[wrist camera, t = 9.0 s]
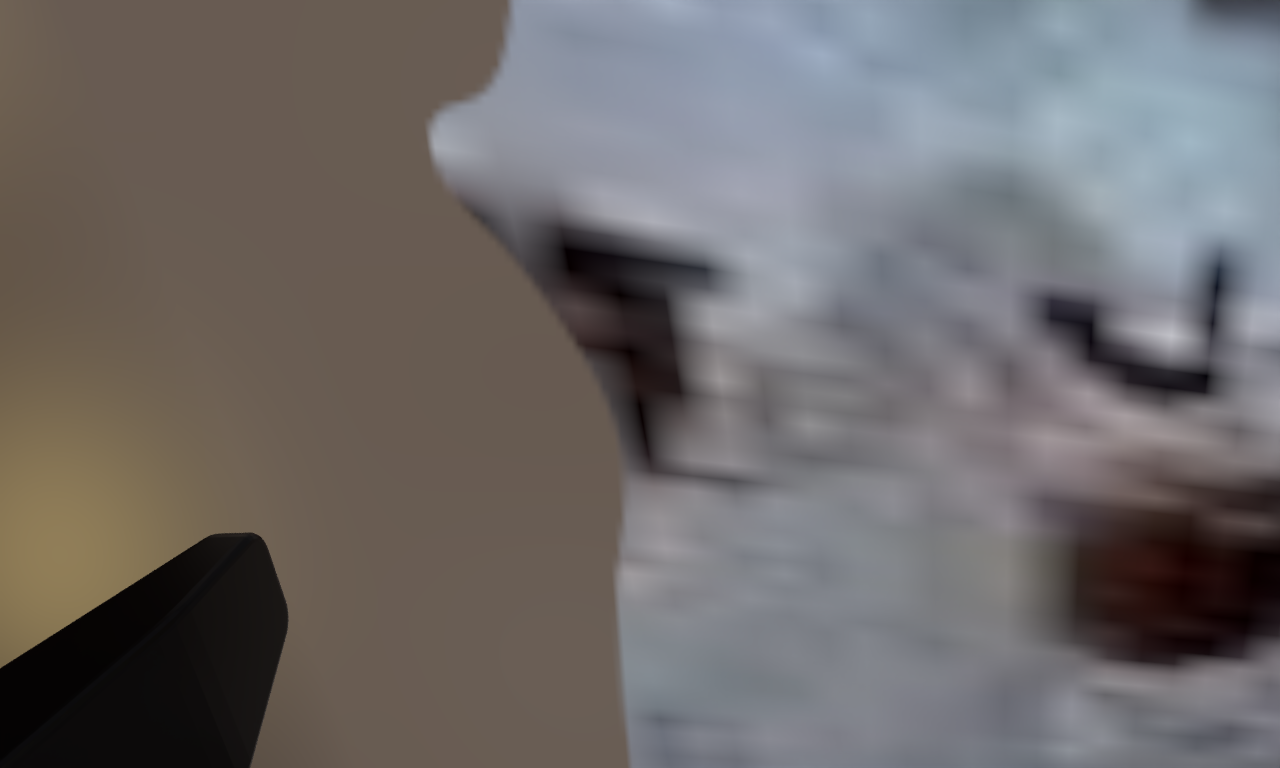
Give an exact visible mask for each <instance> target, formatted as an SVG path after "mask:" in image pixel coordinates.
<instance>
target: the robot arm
mask: <svg viewBox="0 0 1280 768" xmlns="http://www.w3.org/2000/svg"><path fill="white" fill-rule="evenodd" d="M287 628H288V609H287V604H286V600H285V598H284V594H283V591H282V589H281V585H280V583H279V580H278V577H277V574H276V571H275V568H274V565H273V562H272V559H271V556H270V553H269V550H268V548H267V545H266V543H265V542H264V540H263V539H262V538H261V537H260V536H259V535H257V534H254V533H222V534H214V535H210V536H208V537H206V538H204V539H203V540H201V541H200V542H198V543H197V544H195V545H193V546H192V547H190V548H189V549H187V550H186V551H184V552H182V553H181V554H179V555H178V556H176V557H175V558H173V559H172V560H170V561H168V562H167V563H165V564H164V565H162V566H161V567H159V568H157V569H156V570H154V571H152V572H151V573H149V574H148V575H146V576H145V577H143V578H142V579H140V580H138V581H137V582H135V583H134V584H132V585H131V586H129V587H128V588H126V589H124V590H123V591H121V592H119V593H118V594H116V595H115V596H113V597H112V598H110V599H109V600H107V601H105V602H104V603H102V604H101V605H99V606H97V607H96V608H94V609H93V610H91V611H90V612H88V613H87V614H85V615H83V616H82V617H80V618H79V619H77V620H76V621H74V622H72V623H71V624H69V625H68V626H66V627H64V628H63V629H61V630H60V631H58V632H57V633H55V634H53V635H52V636H50V637H49V638H47V639H46V640H44V641H42V642H41V643H40V644H38V645H36V646H35V647H33V648H32V649H30V650H28V651H27V652H25V653H24V654H22V655H20V656H19V657H17V658H16V659H14V660H13V661H11V662H9V663H8V664H6V665H5V666H3V667H2V668H0V768H250V766H251V763H252V759H253V756H254V752H255V748H256V744H257V741H258V736H259V734H260V730H261V726H262V722H263V719H264V715H265V711H266V708H267V704H268V700H269V697H270V693H271V689H272V686H273V682H274V679H275V675H276V671H277V667H278V664H279V660H280V657H281V653H282V649H283V645H284V642H285V638H286V634H287Z"/></svg>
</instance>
